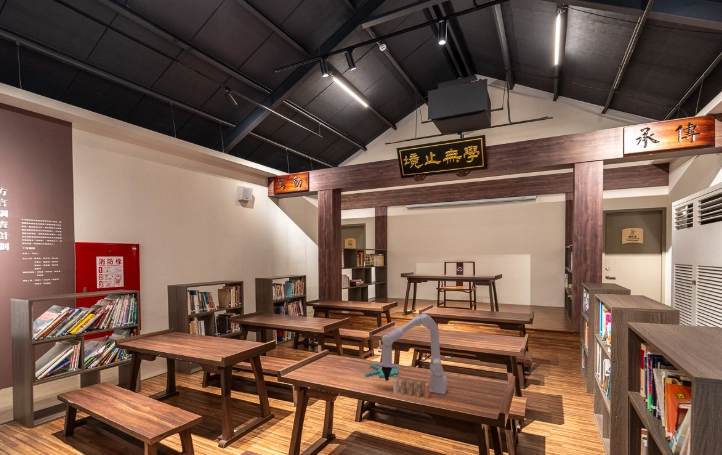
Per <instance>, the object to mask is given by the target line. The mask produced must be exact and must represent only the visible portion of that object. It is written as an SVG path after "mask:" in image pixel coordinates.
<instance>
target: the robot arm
mask: <svg viewBox="0 0 722 455" xmlns="http://www.w3.org/2000/svg"><path fill="white" fill-rule="evenodd" d="M414 327H423V328H424V327H425V328H427V329H428V330H429V332H430V333H429V334H430V336H429V337H430V349H431V350H430V355H431V357H430V363H429V369H430V372H429V383H430V393H434V394H435V393H436V394H442V395H445V394H446V393H447V391H448V385H447V384H448V379H447V378H448V377H447V375H444V368H443V366H442V365H443V364H442V361H441V351H440V350H441V349H440V330H439V326H438V324H437V323H436V322H435V321H434V319H433V318H432V317H431V316H430V315H428V314H427V313H425V312H424V313H420V314H419V315H417V316H415V317H413V319H411V320H410V321H408V322H407V323H405V324H404V325H403V326H401V327H398V326H397V327H394V328H393V330H391V331H389V332H387V334H384V335H383V336H382V337H381V343H382V347H381V348H382V350H381V352H382V354H381V361H375V362H374V366H377V367H379V368H380V367H381V368H382V371H383V373H384V376H385V378H384V381H386V382H388V381H389V380H390V378H389V375H390V372H391V370H392V368H394V369H397V370H400V364H395V363H393V348H392V346H393V343H394V342H396V341H398V340H400V339H401V338H402V337H404V334H405V333H406V332H407V331H409V330H412V329H413V328H414Z"/></svg>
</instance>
